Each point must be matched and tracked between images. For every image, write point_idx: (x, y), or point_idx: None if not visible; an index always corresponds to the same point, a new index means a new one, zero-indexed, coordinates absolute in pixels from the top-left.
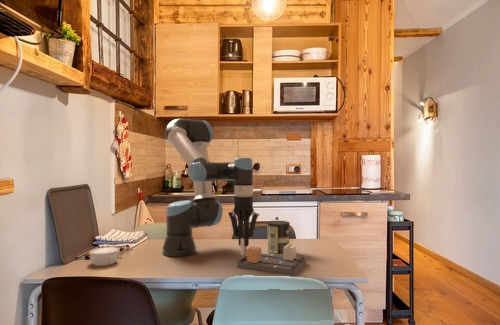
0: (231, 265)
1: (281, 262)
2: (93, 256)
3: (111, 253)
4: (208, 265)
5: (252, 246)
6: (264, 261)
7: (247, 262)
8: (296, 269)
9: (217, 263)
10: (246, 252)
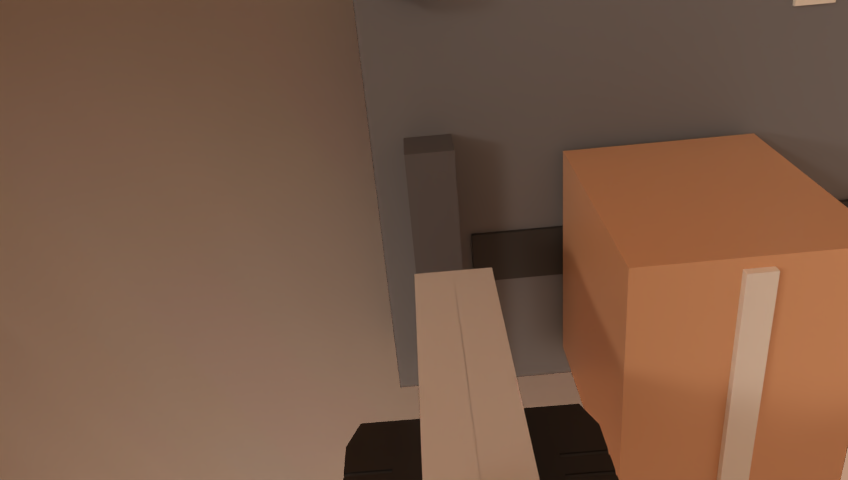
0: (281, 312)
1: None
2: None
3: None
4: (12, 450)
5: (639, 267)
6: (823, 152)
7: (561, 327)
8: None
9: (37, 333)
10: (494, 288)
